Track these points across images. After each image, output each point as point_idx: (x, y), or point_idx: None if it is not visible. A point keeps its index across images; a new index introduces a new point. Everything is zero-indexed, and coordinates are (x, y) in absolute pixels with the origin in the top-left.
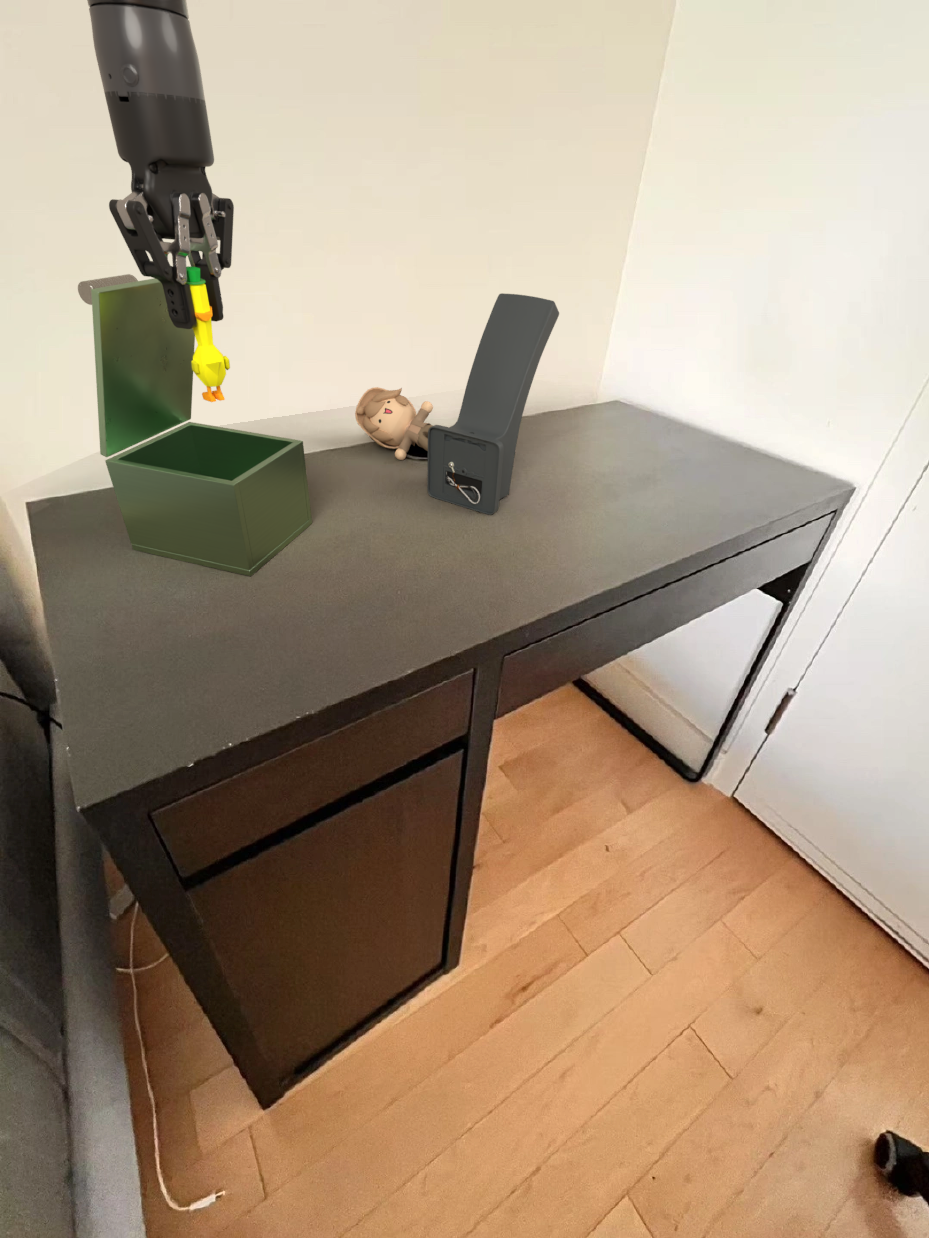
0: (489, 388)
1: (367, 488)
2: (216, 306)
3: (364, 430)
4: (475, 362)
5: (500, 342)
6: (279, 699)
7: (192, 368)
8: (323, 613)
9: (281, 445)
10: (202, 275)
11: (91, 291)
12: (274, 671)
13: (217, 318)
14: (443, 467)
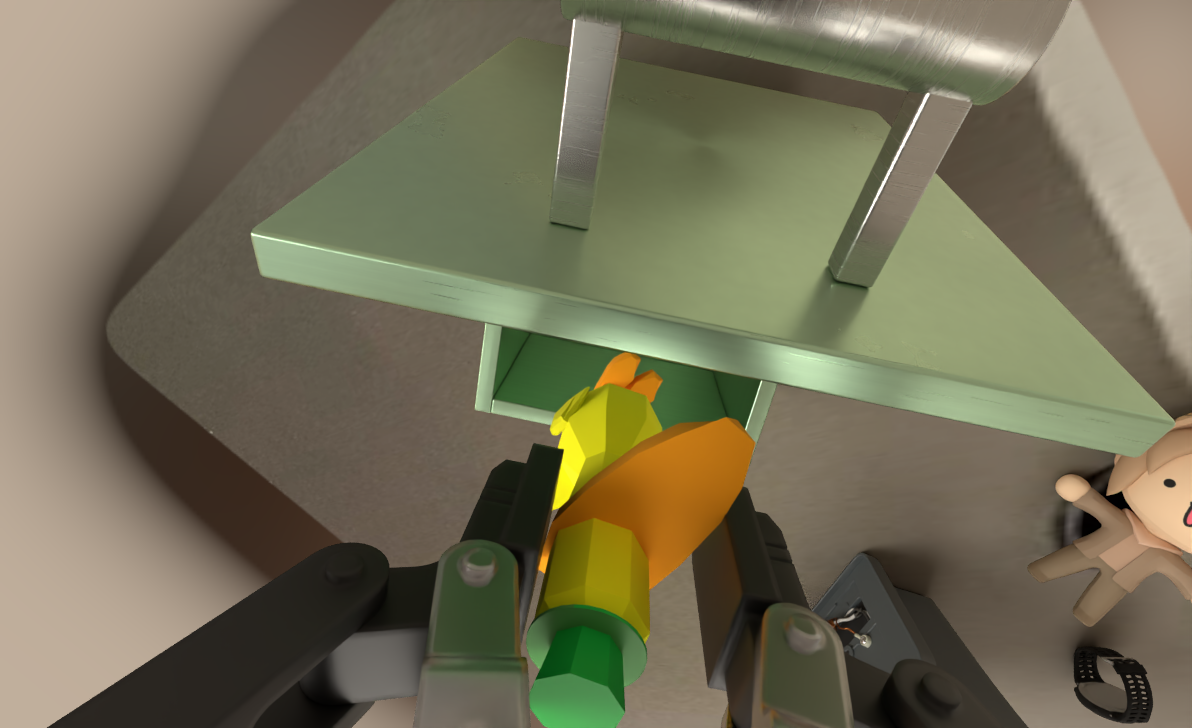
0: None
1: (895, 441)
2: (697, 588)
3: None
4: None
5: None
6: (286, 458)
7: (570, 400)
8: (455, 463)
9: (746, 412)
10: (741, 651)
11: (259, 224)
12: (326, 439)
13: (695, 549)
14: (874, 620)
